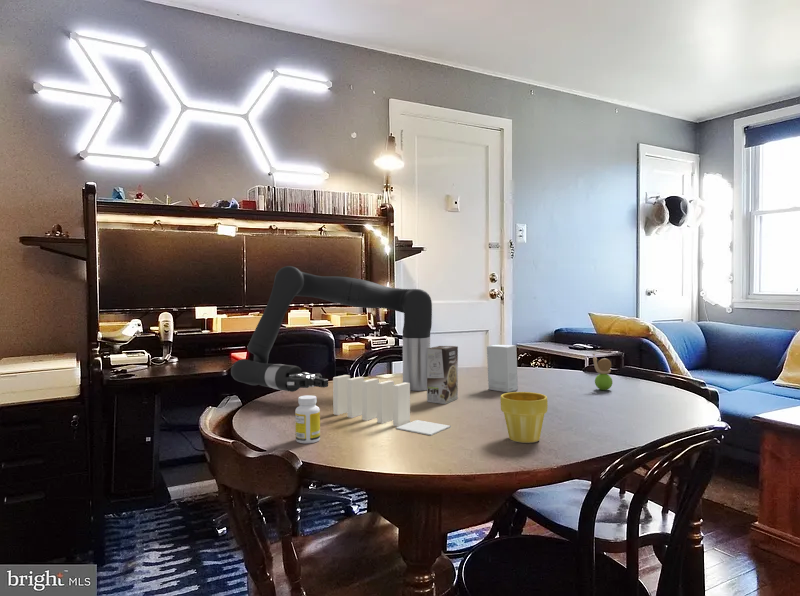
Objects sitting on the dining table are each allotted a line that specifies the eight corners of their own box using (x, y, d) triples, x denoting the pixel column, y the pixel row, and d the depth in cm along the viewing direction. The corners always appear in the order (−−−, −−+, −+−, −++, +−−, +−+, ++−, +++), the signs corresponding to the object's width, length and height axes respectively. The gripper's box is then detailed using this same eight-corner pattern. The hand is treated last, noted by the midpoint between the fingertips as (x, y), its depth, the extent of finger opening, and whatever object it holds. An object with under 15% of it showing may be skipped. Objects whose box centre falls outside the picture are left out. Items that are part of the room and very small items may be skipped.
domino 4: (377, 422, 136) (377, 383, 136) (389, 418, 140) (389, 380, 140) (382, 423, 135) (382, 383, 135) (394, 419, 139) (394, 381, 139)
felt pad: (395, 428, 130) (395, 427, 130) (416, 421, 138) (416, 419, 138) (430, 435, 124) (430, 434, 124) (450, 427, 132) (450, 425, 132)
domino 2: (347, 417, 142) (347, 379, 142) (359, 413, 146) (359, 376, 146) (351, 417, 141) (351, 379, 141) (364, 414, 145) (364, 377, 145)
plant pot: (490, 437, 123) (490, 394, 122) (521, 430, 129) (522, 389, 128) (525, 448, 114) (525, 402, 114) (557, 440, 120) (557, 396, 120)
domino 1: (333, 414, 145) (333, 377, 145) (345, 410, 149) (345, 374, 149) (337, 415, 144) (337, 377, 144) (350, 411, 148) (349, 375, 148)
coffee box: (446, 404, 156) (446, 349, 156) (426, 402, 160) (426, 347, 159) (458, 398, 164) (458, 345, 164) (439, 396, 168) (439, 344, 167)
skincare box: (518, 390, 177) (518, 345, 176) (507, 393, 172) (507, 346, 172) (497, 387, 183) (497, 343, 182) (486, 389, 179) (486, 344, 178)
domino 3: (362, 419, 139) (361, 381, 139) (374, 416, 143) (374, 378, 143) (366, 420, 138) (366, 381, 138) (379, 416, 142) (378, 379, 142)
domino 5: (393, 425, 133) (392, 385, 133) (404, 421, 137) (404, 382, 137) (398, 426, 132) (398, 386, 132) (410, 422, 136) (409, 382, 136)
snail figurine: (589, 388, 179) (589, 352, 179) (607, 388, 180) (607, 352, 180) (596, 391, 174) (596, 354, 174) (615, 391, 175) (615, 354, 174)
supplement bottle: (320, 436, 124) (320, 394, 124) (320, 443, 118) (319, 399, 118) (296, 437, 123) (295, 394, 123) (294, 444, 118) (294, 400, 117)
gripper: (266, 367, 154) (309, 373, 144) (300, 362, 165) (342, 366, 155) (266, 393, 155) (309, 401, 144) (300, 386, 165) (342, 392, 155)
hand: (326, 383), depth 150 cm, fingers closed
